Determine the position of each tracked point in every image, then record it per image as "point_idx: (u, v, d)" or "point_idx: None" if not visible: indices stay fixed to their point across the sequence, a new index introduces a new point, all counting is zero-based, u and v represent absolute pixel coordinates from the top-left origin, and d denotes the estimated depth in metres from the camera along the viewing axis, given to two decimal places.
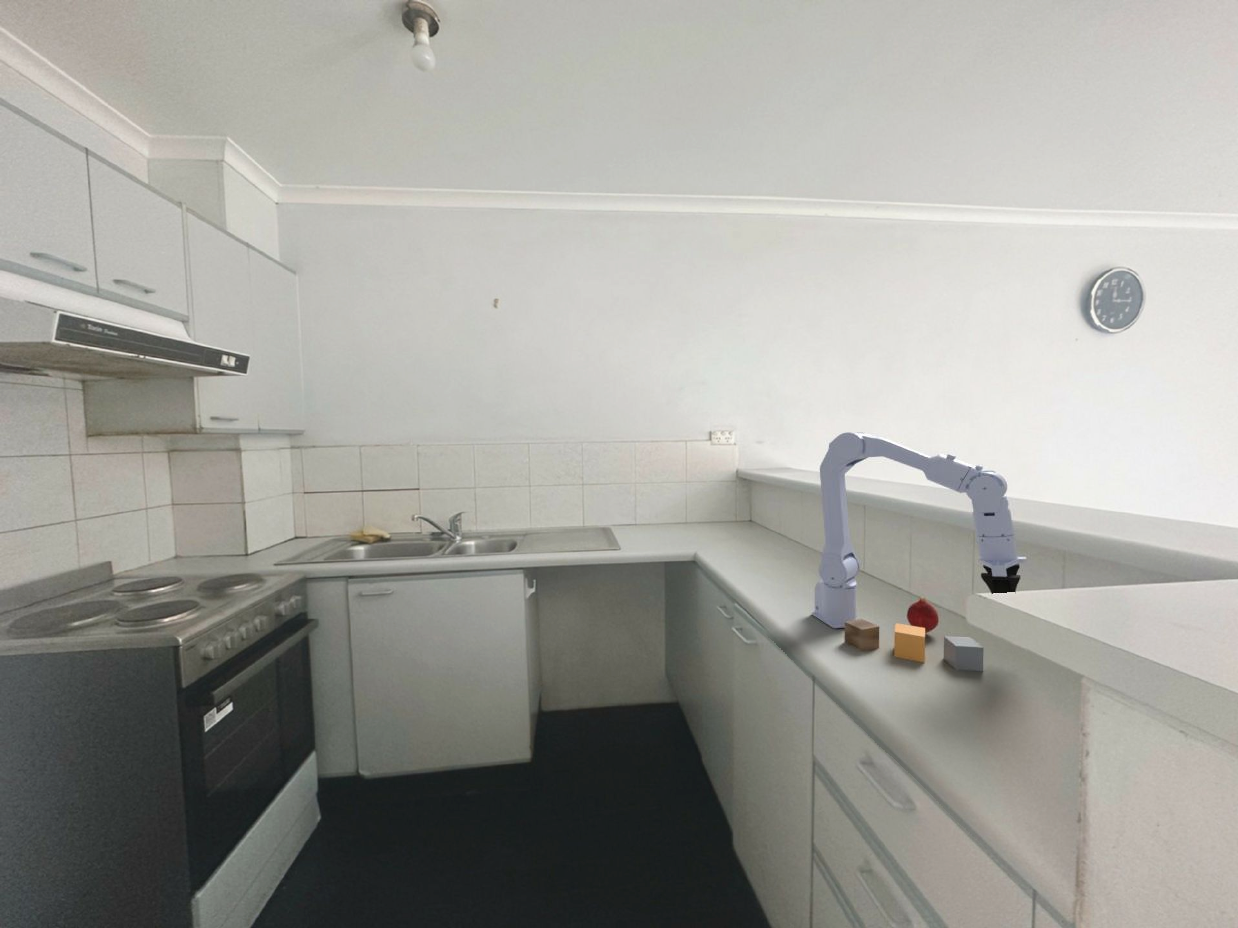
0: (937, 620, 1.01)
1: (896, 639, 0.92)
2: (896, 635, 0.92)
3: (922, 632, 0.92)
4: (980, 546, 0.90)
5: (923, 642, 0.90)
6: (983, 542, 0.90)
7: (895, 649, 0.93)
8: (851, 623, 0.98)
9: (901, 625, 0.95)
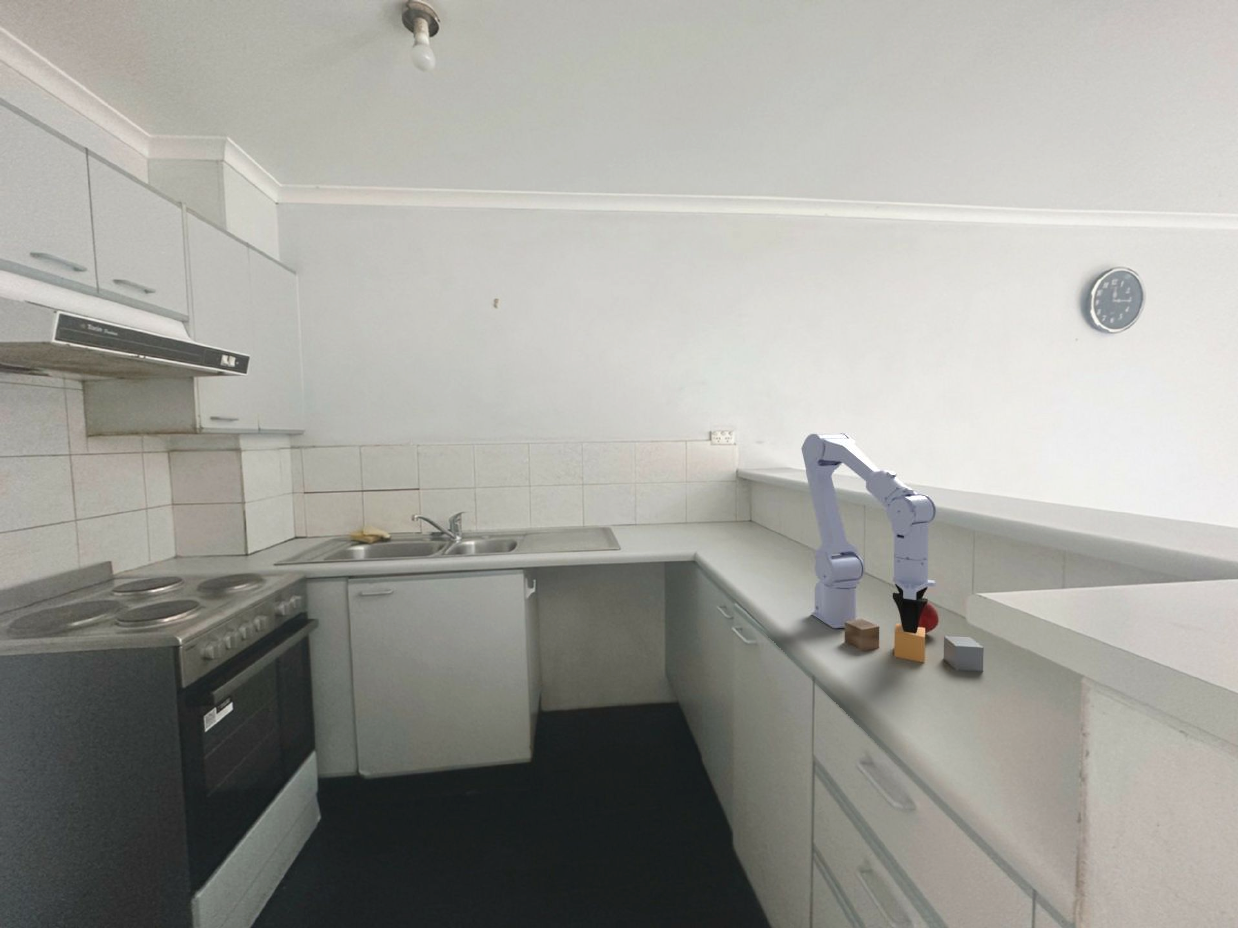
0: (937, 620, 1.01)
1: (896, 639, 0.92)
2: (896, 635, 0.92)
3: (922, 632, 0.92)
4: (896, 566, 0.93)
5: (923, 642, 0.90)
6: (899, 563, 0.92)
7: (895, 649, 0.93)
8: (851, 623, 0.98)
9: (901, 625, 0.95)
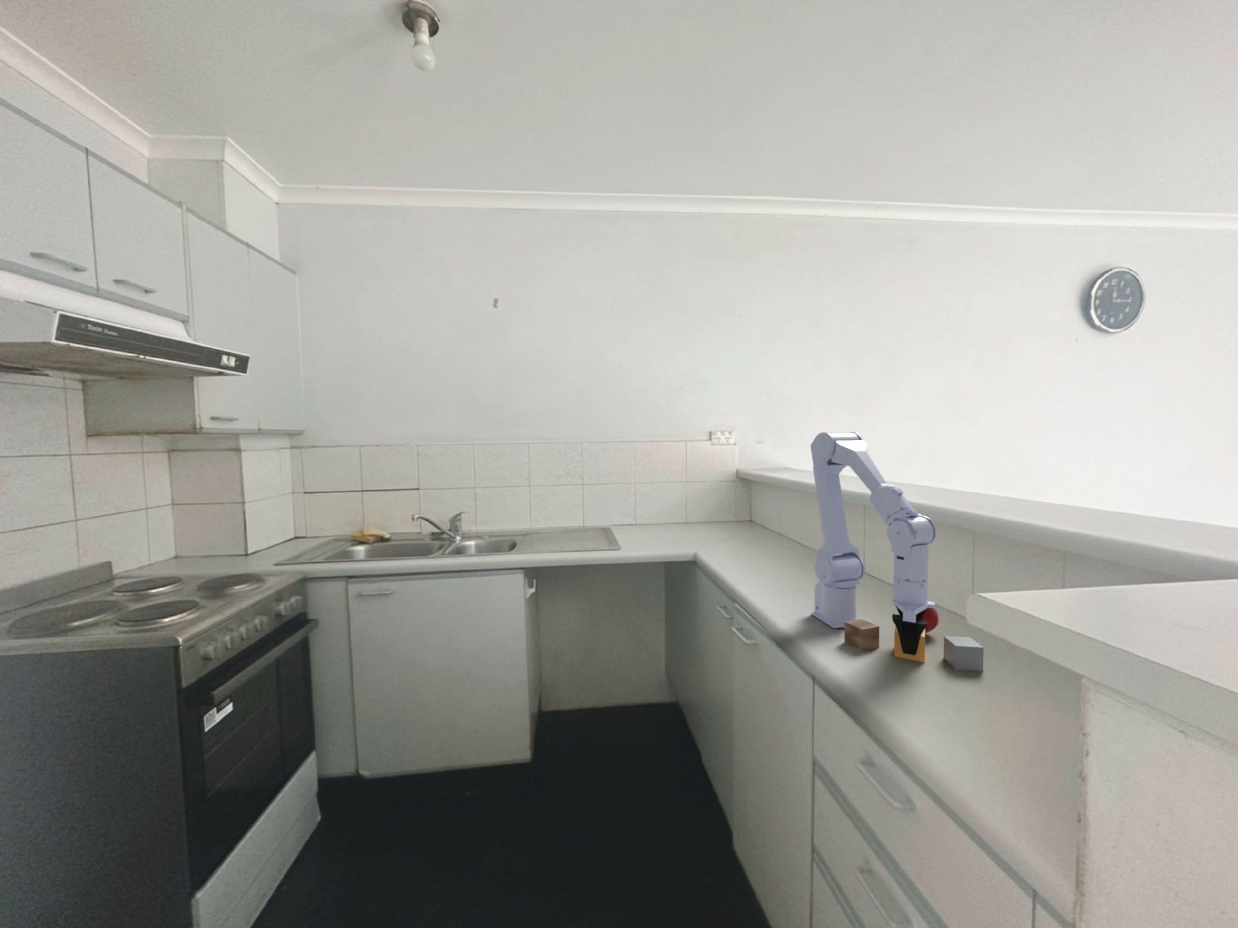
0: (937, 620, 1.01)
1: (896, 639, 0.92)
2: (896, 635, 0.92)
3: None
4: (896, 587, 0.93)
5: (922, 642, 0.90)
6: (899, 584, 0.92)
7: (895, 649, 0.93)
8: (851, 623, 0.98)
9: None
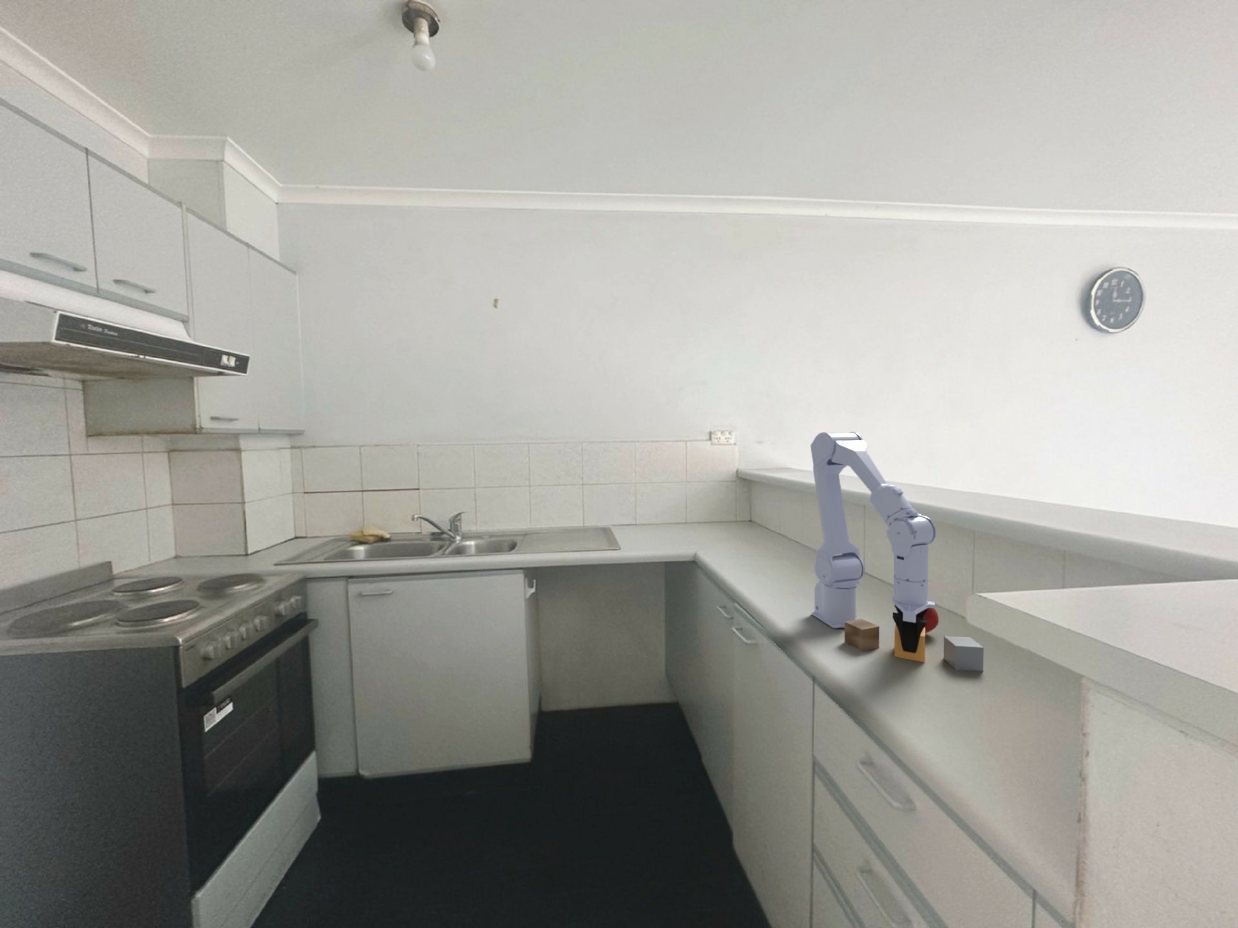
0: (937, 620, 1.01)
1: (896, 638, 0.92)
2: (896, 634, 0.92)
3: (922, 631, 0.92)
4: (896, 587, 0.93)
5: (923, 642, 0.90)
6: (899, 584, 0.92)
7: (895, 649, 0.93)
8: (851, 623, 0.98)
9: None
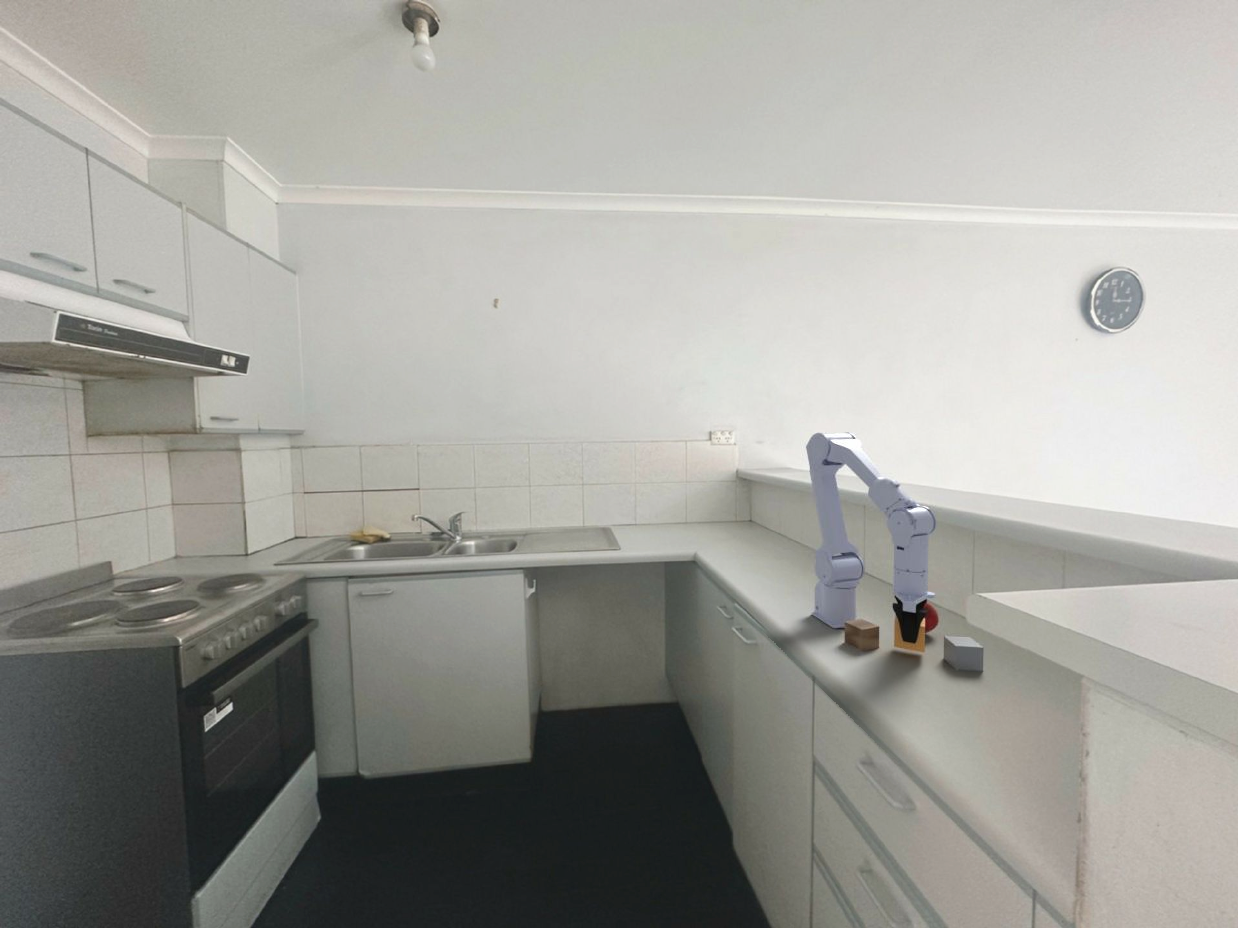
0: (937, 620, 1.01)
1: (896, 629, 0.92)
2: (896, 625, 0.92)
3: (922, 622, 0.92)
4: (896, 578, 0.93)
5: (922, 632, 0.90)
6: (899, 575, 0.92)
7: (895, 639, 0.93)
8: (851, 623, 0.98)
9: None
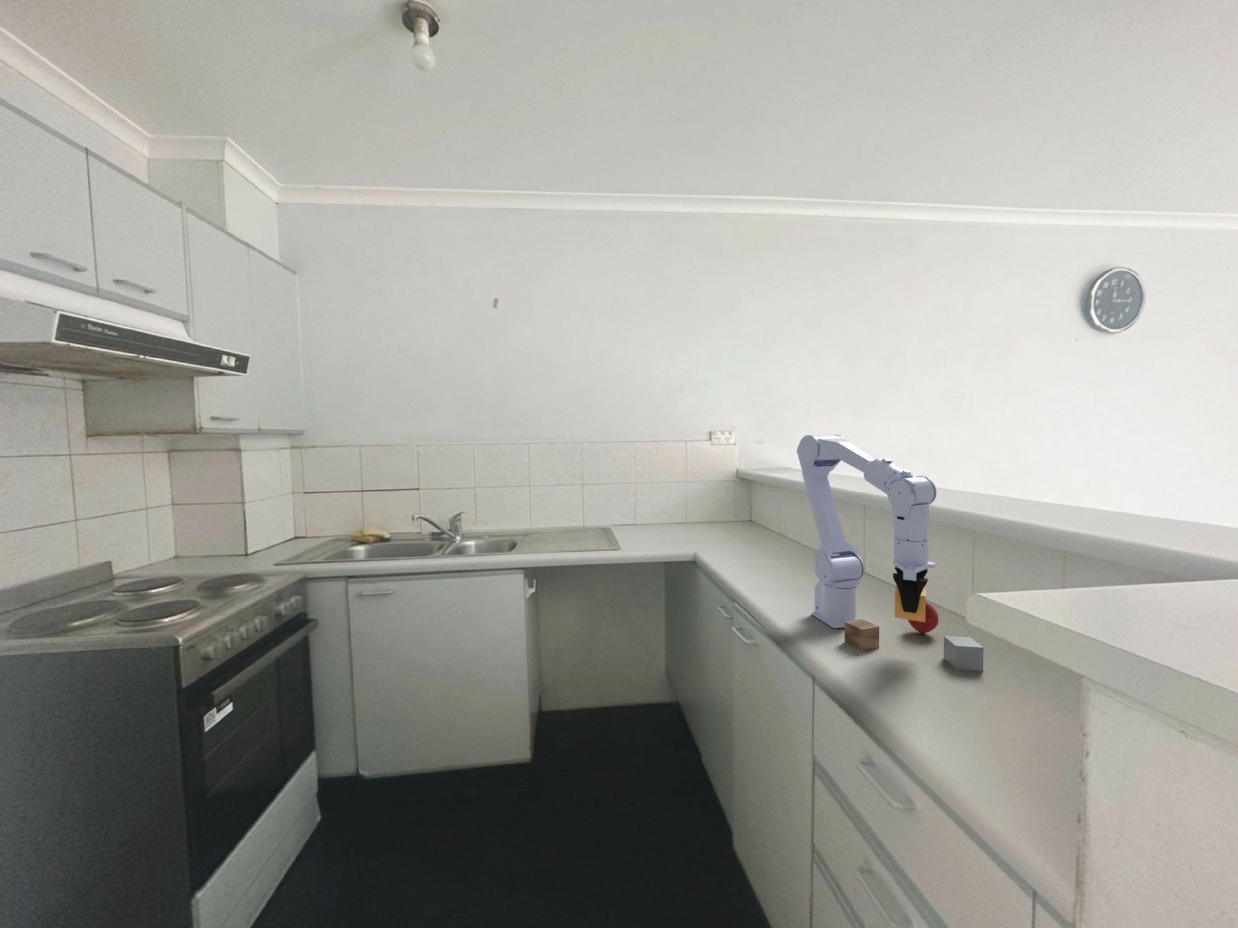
0: (937, 620, 1.01)
1: (896, 599, 0.92)
2: (896, 595, 0.92)
3: (923, 592, 0.92)
4: (896, 548, 0.93)
5: (923, 601, 0.90)
6: (899, 545, 0.92)
7: (895, 609, 0.92)
8: (851, 623, 0.98)
9: None
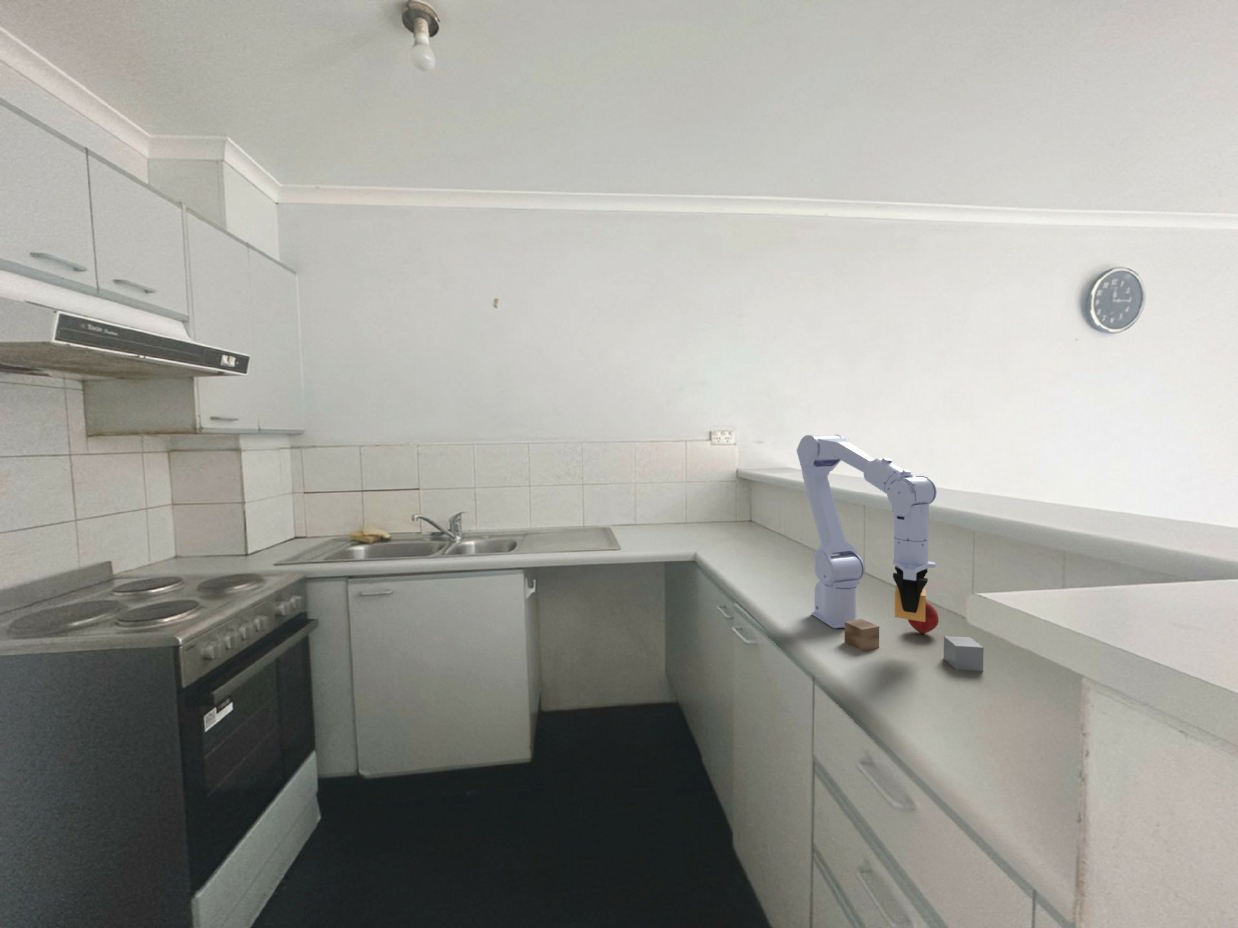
0: (937, 620, 1.01)
1: (896, 599, 0.92)
2: (896, 595, 0.92)
3: (923, 592, 0.92)
4: (896, 548, 0.93)
5: (923, 601, 0.90)
6: (899, 545, 0.92)
7: (895, 609, 0.92)
8: (852, 623, 0.98)
9: None
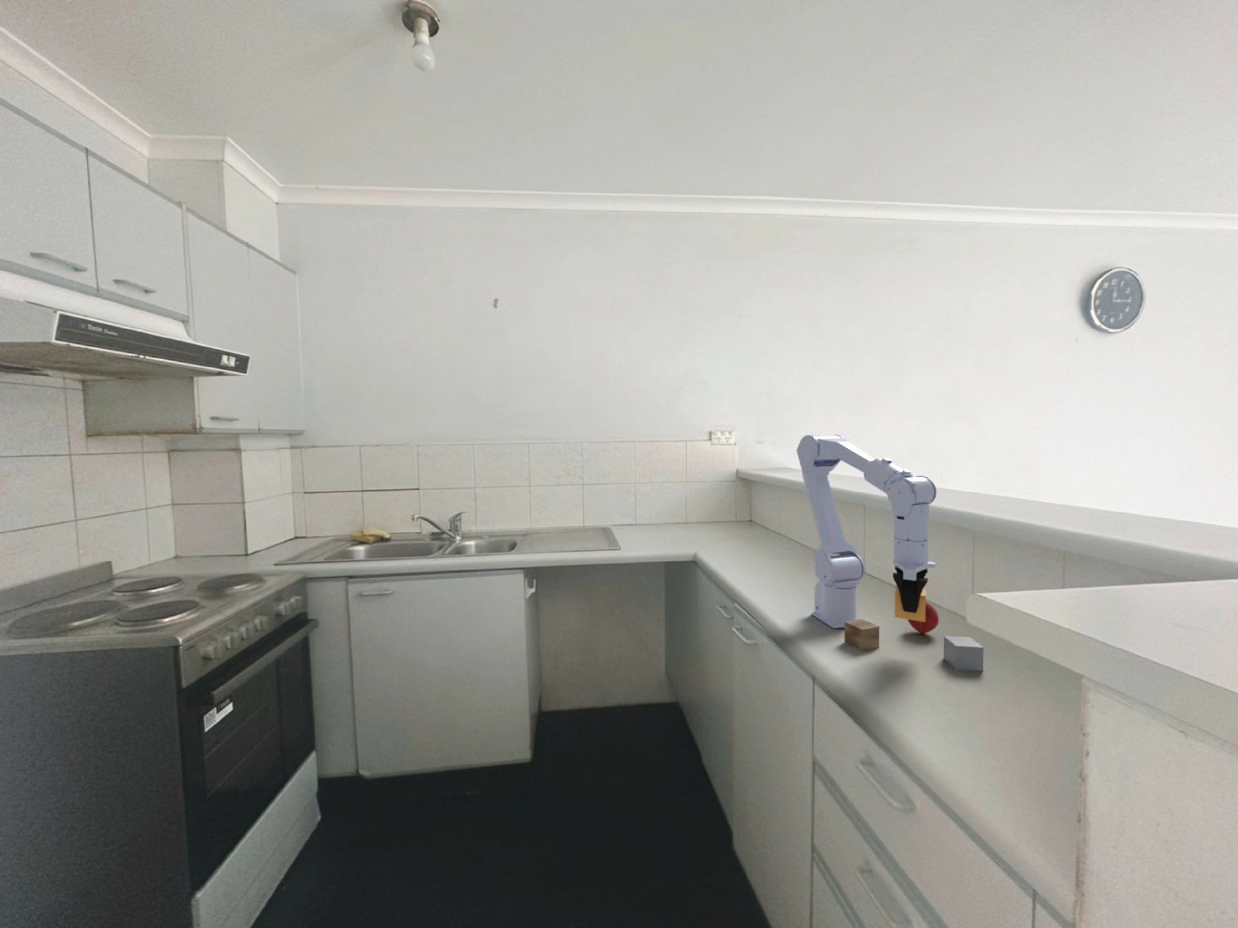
0: (937, 620, 1.01)
1: (896, 599, 0.92)
2: (896, 595, 0.92)
3: (923, 592, 0.92)
4: (896, 548, 0.93)
5: (923, 601, 0.90)
6: (899, 545, 0.92)
7: (895, 609, 0.92)
8: (852, 623, 0.98)
9: None
